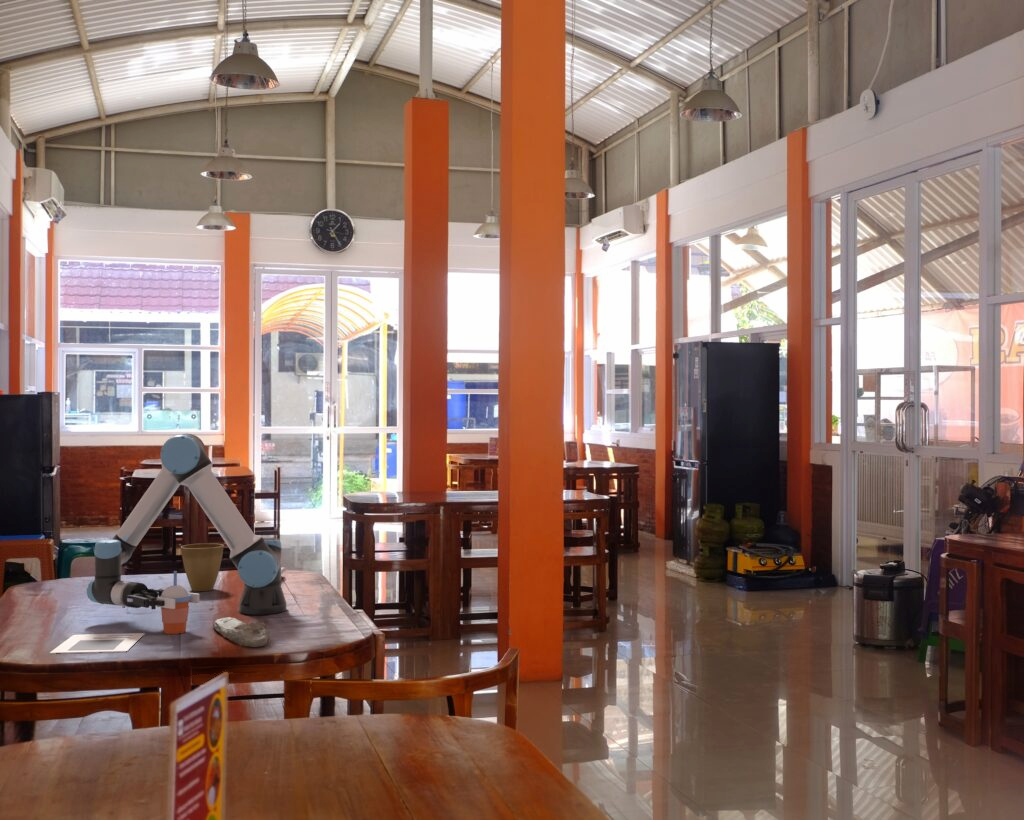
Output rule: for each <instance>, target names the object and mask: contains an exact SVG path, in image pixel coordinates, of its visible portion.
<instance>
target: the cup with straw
mask: <svg viewBox="0 0 1024 820" xmlns="http://www.w3.org/2000/svg"><path fill="white" fill-rule="evenodd" d="M177 576H178V571H177V570H173V584H172V585H169V586H168V587H166V588H164V589H165V590H164V591H163V593H162V595H161V596H160V597H162V598H170V599H175V609H170V608H162V607H160V611H161V622H162V625H163V627H162V628H163V633H164V634H167V635H177V634H178V635H180V634H183V633H186V630H187V622H188V621H189V620H188V619H189V610H190V605H189V603H190V602H189V601H190V600H191V595H190V594H189V593H190V592H189V591H188V590H187V589H186V588H185V587H184V586H182V585H178V583H177V582H178V581H177V580H178V577H177ZM179 633H180V634H179Z"/></svg>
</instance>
